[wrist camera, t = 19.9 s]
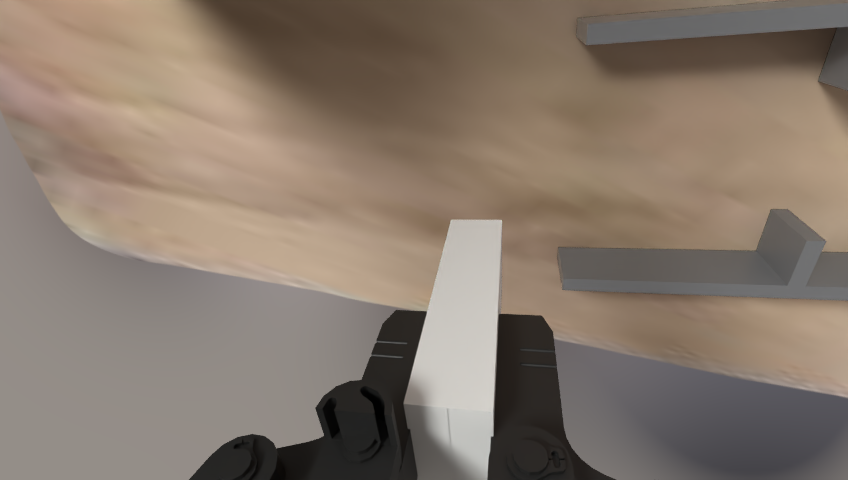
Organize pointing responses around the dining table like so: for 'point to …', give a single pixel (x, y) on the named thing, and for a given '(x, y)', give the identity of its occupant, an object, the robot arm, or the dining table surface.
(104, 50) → the dining table surface
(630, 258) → the grey rectangular frame
